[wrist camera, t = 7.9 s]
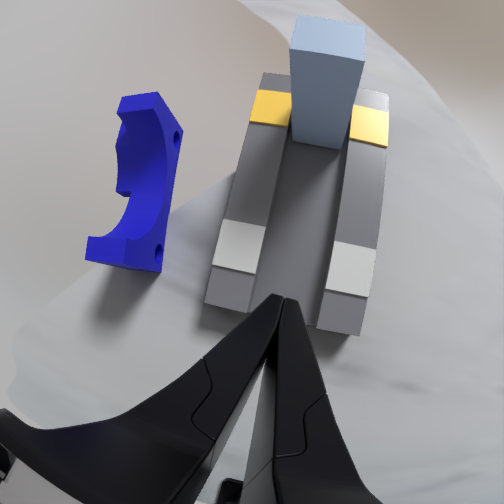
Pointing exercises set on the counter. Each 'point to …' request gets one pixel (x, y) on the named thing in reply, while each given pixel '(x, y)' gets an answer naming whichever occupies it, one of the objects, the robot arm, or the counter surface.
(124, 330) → the counter surface
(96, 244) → the cable clip
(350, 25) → the tab
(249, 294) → the switch housing
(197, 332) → the counter surface
